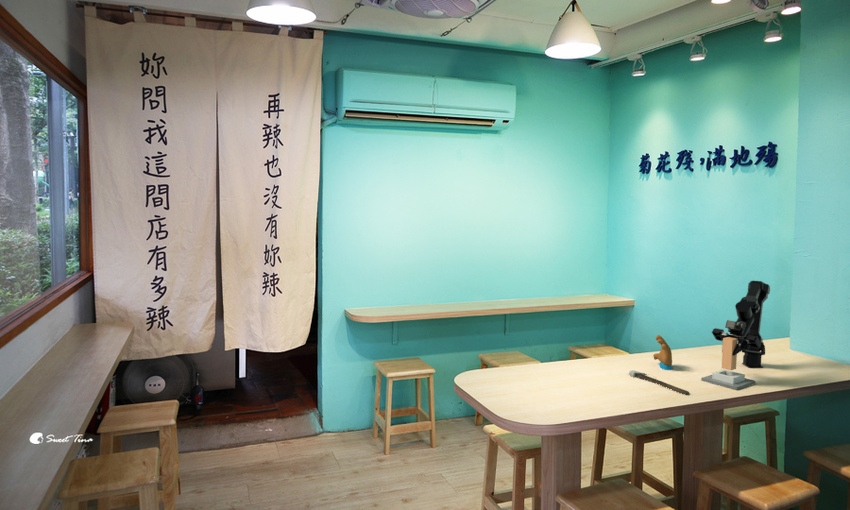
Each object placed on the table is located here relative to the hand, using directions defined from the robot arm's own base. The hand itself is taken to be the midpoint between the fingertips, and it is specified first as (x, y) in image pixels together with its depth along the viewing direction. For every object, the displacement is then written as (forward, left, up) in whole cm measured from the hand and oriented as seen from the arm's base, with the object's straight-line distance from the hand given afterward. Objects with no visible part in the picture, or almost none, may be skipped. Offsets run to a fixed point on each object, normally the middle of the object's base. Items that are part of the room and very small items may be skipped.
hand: (727, 353), depth 241 cm
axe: (+27, +1, -13) cm, 30 cm away
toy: (+18, -23, -13) cm, 32 cm away
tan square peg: (-1, -1, -7) cm, 7 cm away
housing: (-1, -1, -12) cm, 13 cm away
